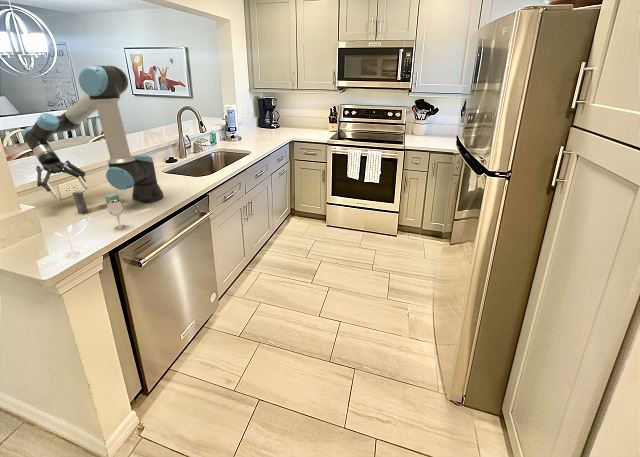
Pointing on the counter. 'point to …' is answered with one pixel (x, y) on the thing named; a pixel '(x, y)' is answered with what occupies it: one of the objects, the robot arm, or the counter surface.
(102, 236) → the counter surface
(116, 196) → the cube
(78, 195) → the mallet
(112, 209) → the wineglass
